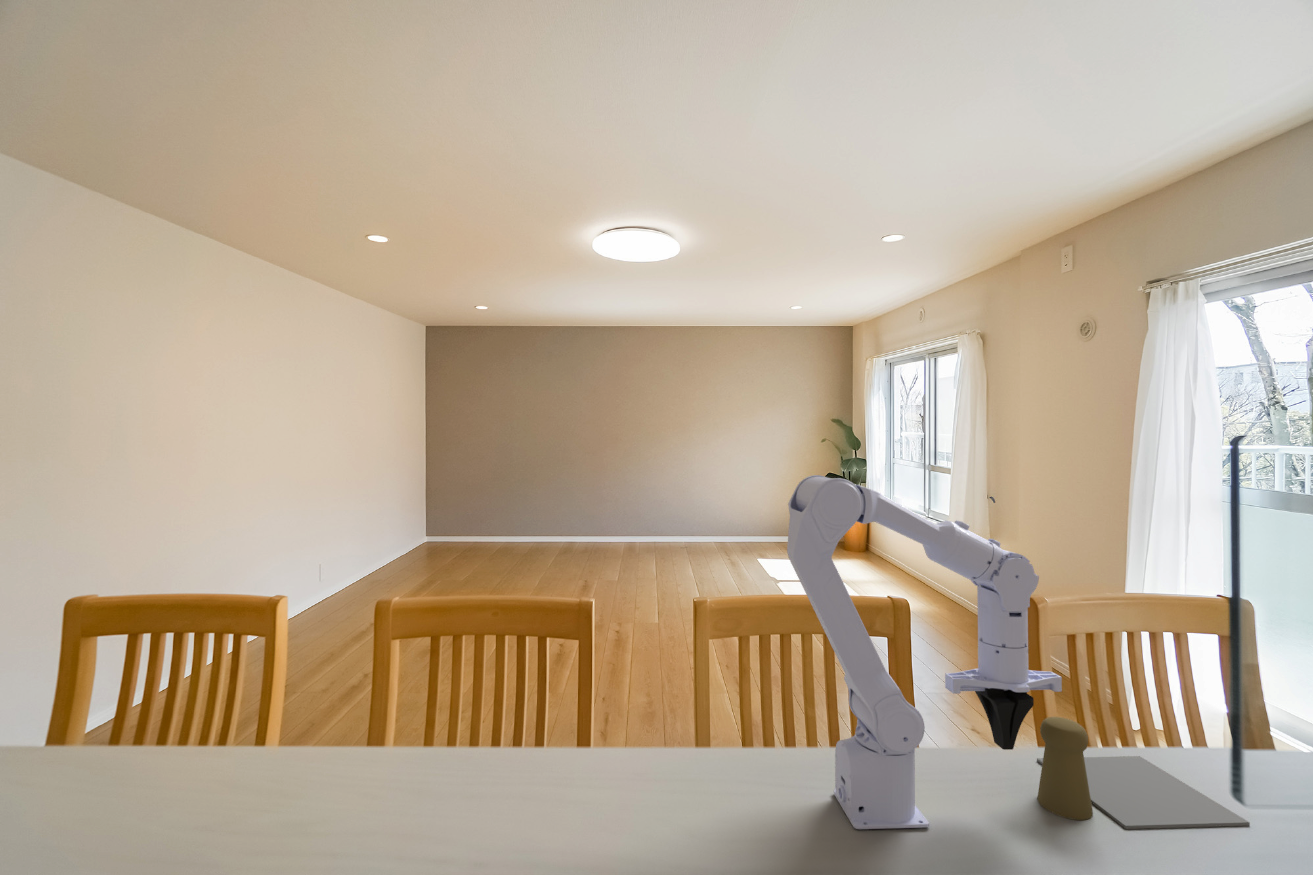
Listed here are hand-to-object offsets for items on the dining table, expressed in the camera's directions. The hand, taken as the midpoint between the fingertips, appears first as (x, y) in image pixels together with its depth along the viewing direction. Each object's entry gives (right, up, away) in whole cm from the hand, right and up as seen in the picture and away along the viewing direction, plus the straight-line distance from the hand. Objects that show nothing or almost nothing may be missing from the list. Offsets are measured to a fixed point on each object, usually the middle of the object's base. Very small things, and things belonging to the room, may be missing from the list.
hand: (1003, 745), depth 78 cm
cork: (+8, -8, 0) cm, 12 cm away
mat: (+20, -8, +4) cm, 22 cm away
